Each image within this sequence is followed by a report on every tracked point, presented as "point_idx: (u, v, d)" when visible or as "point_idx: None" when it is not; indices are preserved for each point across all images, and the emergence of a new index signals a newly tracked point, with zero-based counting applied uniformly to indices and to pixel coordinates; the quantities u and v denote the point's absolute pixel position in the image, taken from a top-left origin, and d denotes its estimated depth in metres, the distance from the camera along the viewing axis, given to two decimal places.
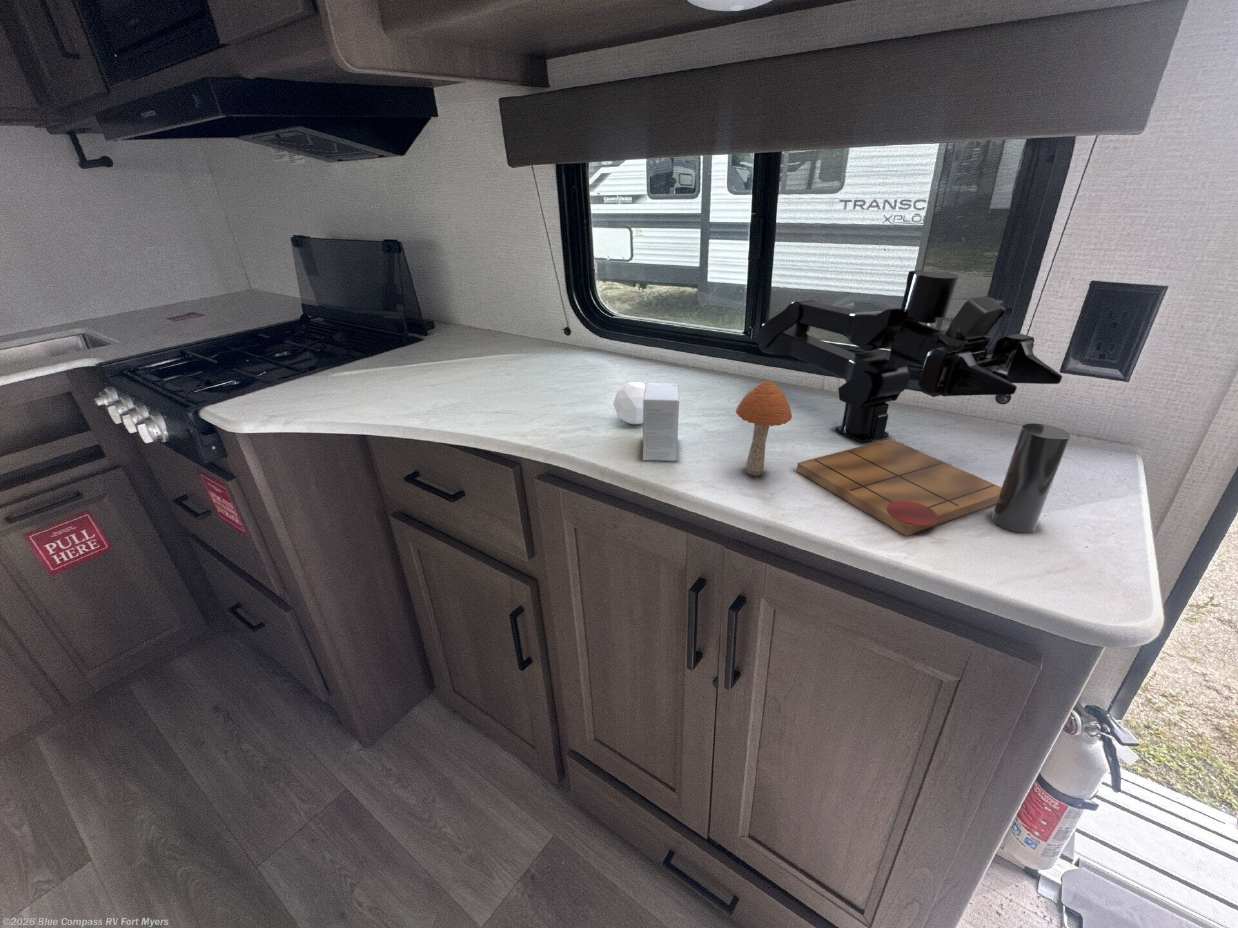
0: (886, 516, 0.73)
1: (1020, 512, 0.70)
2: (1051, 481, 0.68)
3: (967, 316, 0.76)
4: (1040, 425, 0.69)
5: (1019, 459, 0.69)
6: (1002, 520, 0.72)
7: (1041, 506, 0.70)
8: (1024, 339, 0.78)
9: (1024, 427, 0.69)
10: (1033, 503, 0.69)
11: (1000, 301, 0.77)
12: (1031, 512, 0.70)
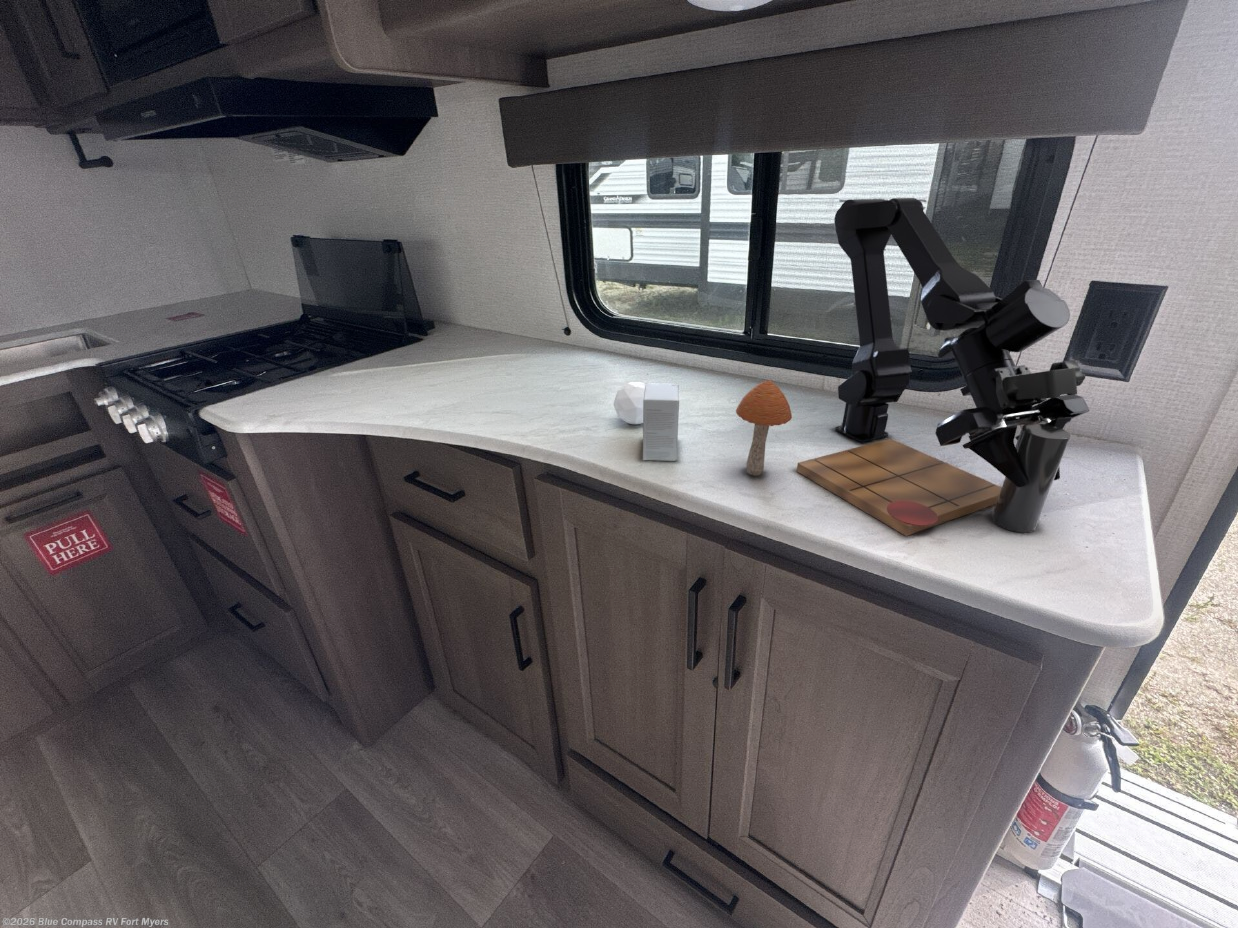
0: (886, 516, 0.73)
1: (1020, 512, 0.70)
2: (1051, 481, 0.68)
3: (1033, 385, 0.66)
4: (1040, 425, 0.69)
5: (1020, 459, 0.69)
6: (1002, 520, 0.72)
7: (1041, 506, 0.70)
8: (1077, 412, 0.70)
9: (1024, 427, 0.69)
10: (1033, 503, 0.69)
11: (1082, 377, 0.66)
12: (1031, 512, 0.70)
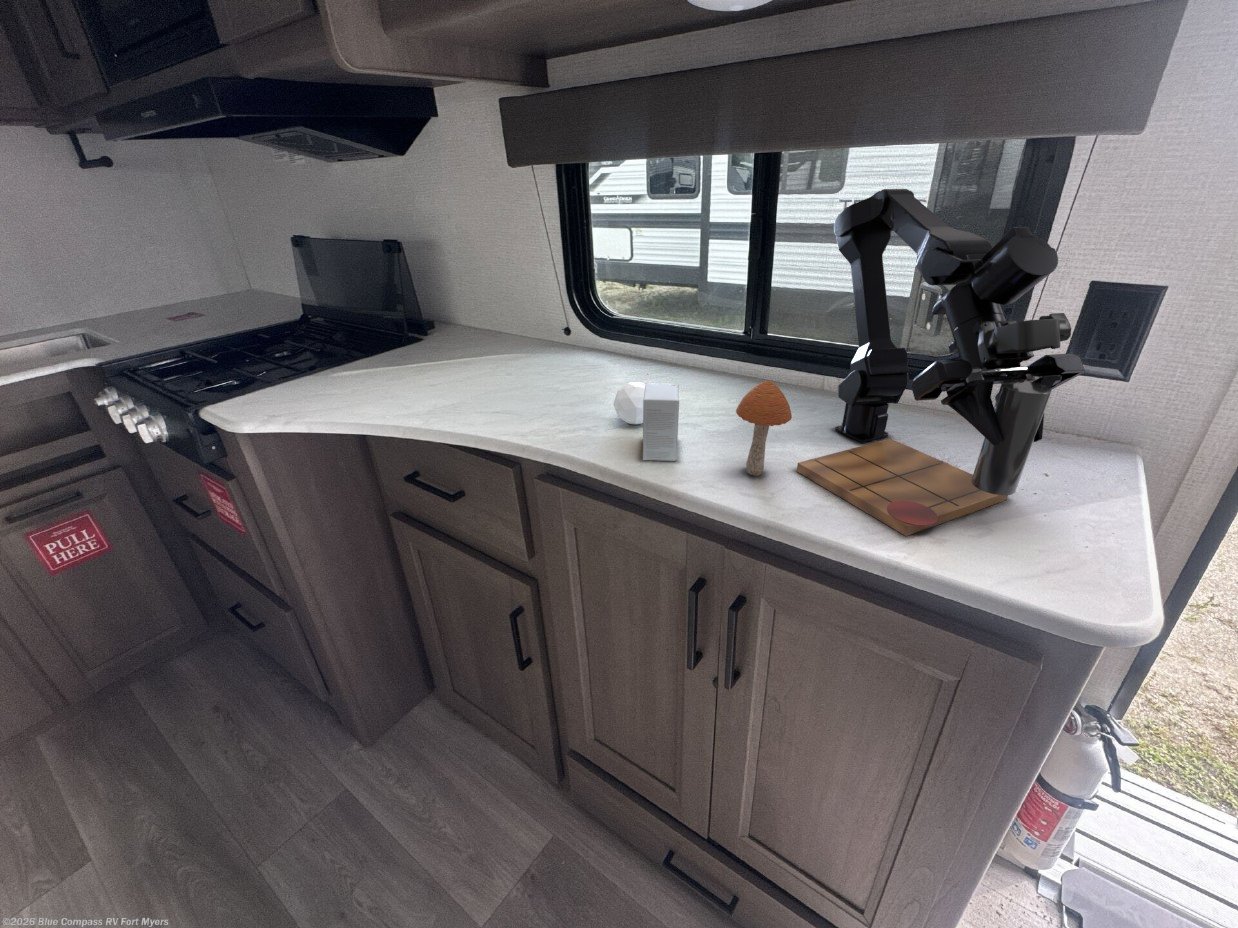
0: (886, 516, 0.73)
1: (995, 472, 0.67)
2: (1030, 440, 0.65)
3: (1011, 337, 0.63)
4: (1023, 382, 0.66)
5: (996, 416, 0.66)
6: (979, 481, 0.69)
7: (1019, 467, 0.67)
8: (1070, 371, 0.66)
9: (1004, 382, 0.66)
10: (1010, 463, 0.66)
11: (1067, 330, 0.62)
12: (1008, 473, 0.67)
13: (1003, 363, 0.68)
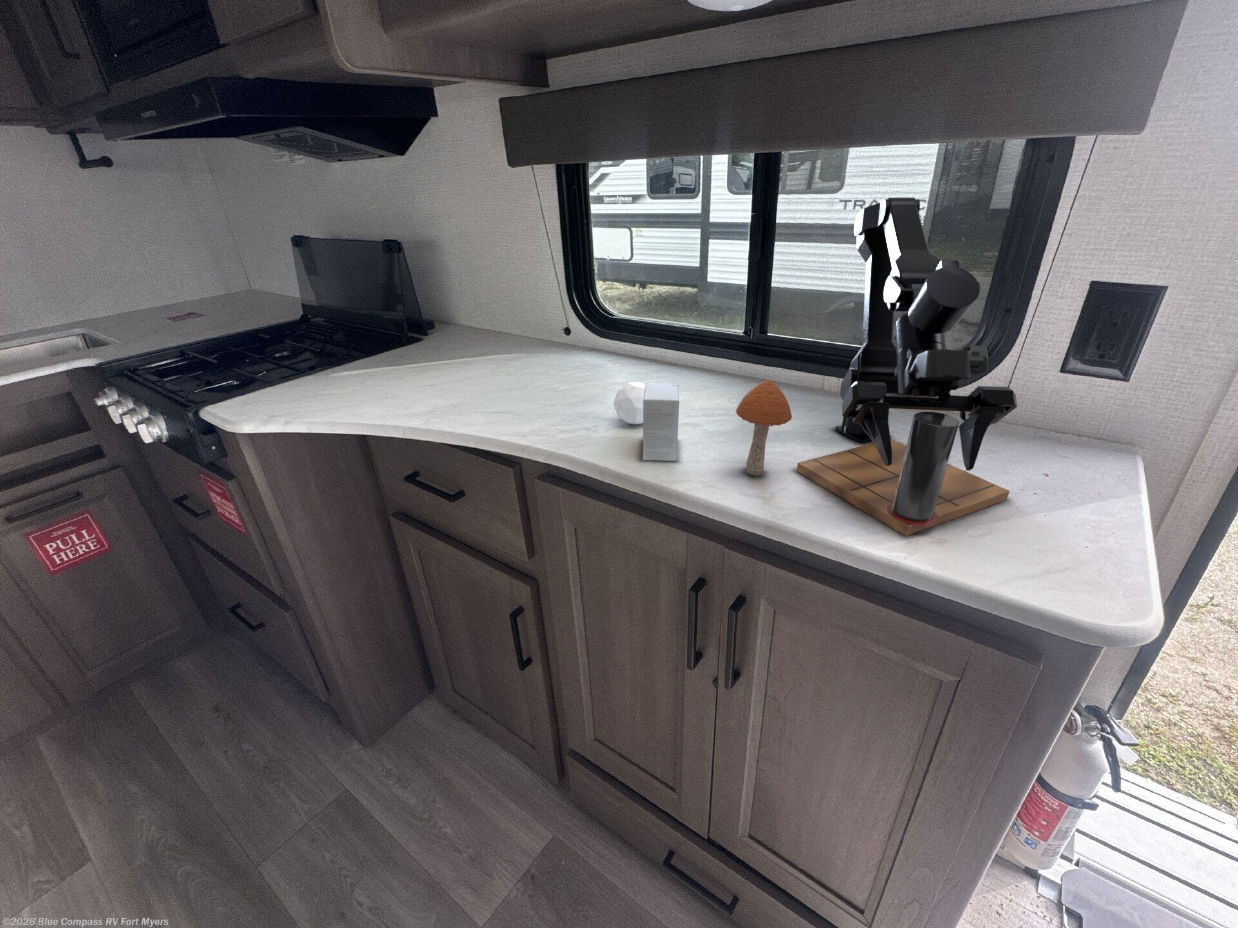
0: (886, 516, 0.73)
1: (905, 498, 0.71)
2: (935, 471, 0.68)
3: (922, 364, 0.66)
4: (940, 414, 0.68)
5: (908, 444, 0.69)
6: (894, 505, 0.73)
7: (927, 496, 0.69)
8: (997, 403, 0.67)
9: (919, 413, 0.69)
10: (917, 490, 0.69)
11: (979, 362, 0.64)
12: (916, 500, 0.70)
13: (934, 390, 0.71)
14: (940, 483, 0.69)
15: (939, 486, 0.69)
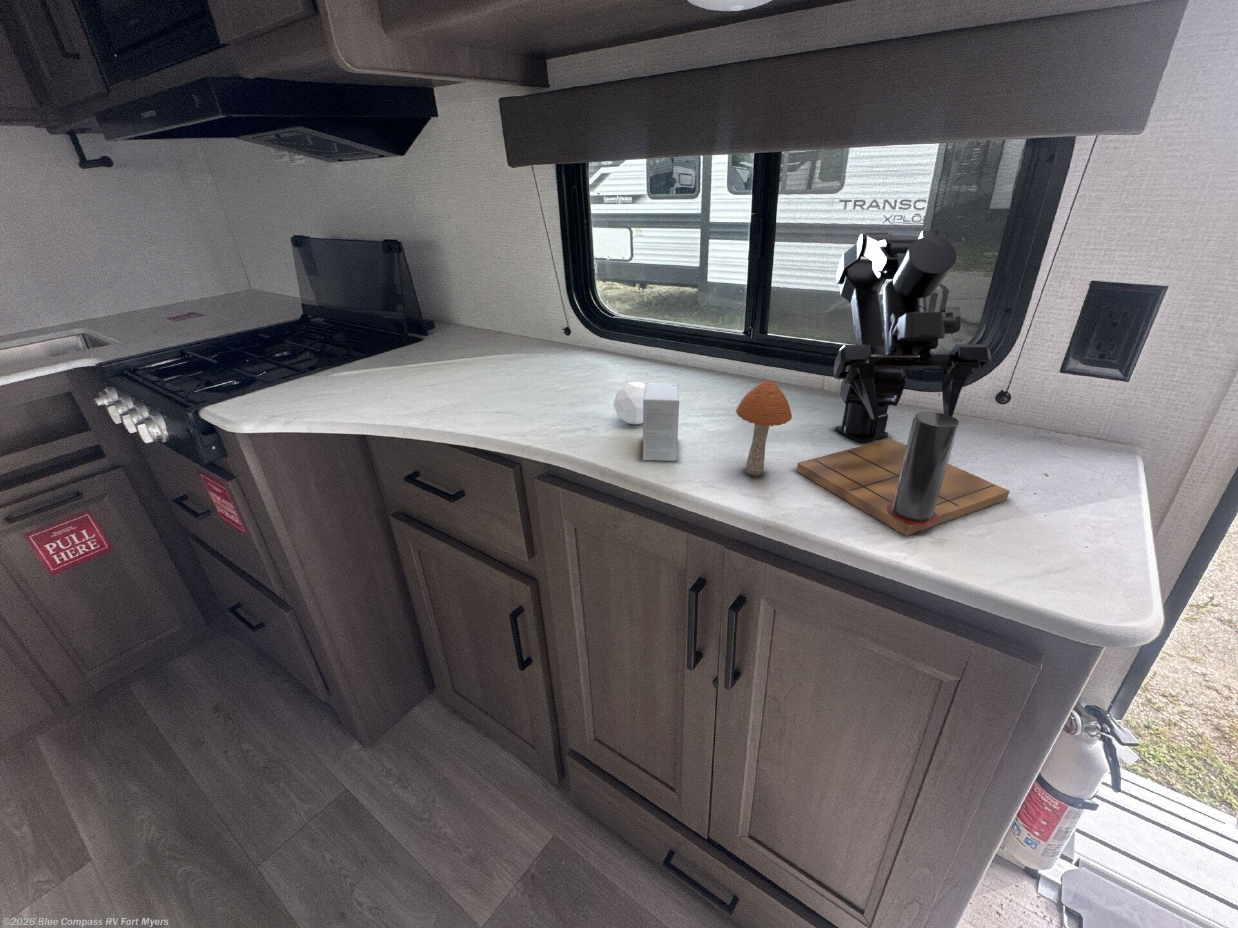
0: (886, 516, 0.73)
1: (905, 498, 0.71)
2: (935, 471, 0.68)
3: (902, 326, 0.73)
4: (940, 414, 0.68)
5: (908, 444, 0.69)
6: (894, 505, 0.73)
7: (927, 496, 0.69)
8: (972, 359, 0.74)
9: (919, 413, 0.69)
10: (917, 490, 0.69)
11: (952, 322, 0.71)
12: (916, 500, 0.70)
13: (916, 350, 0.78)
14: (940, 483, 0.69)
15: (939, 486, 0.69)
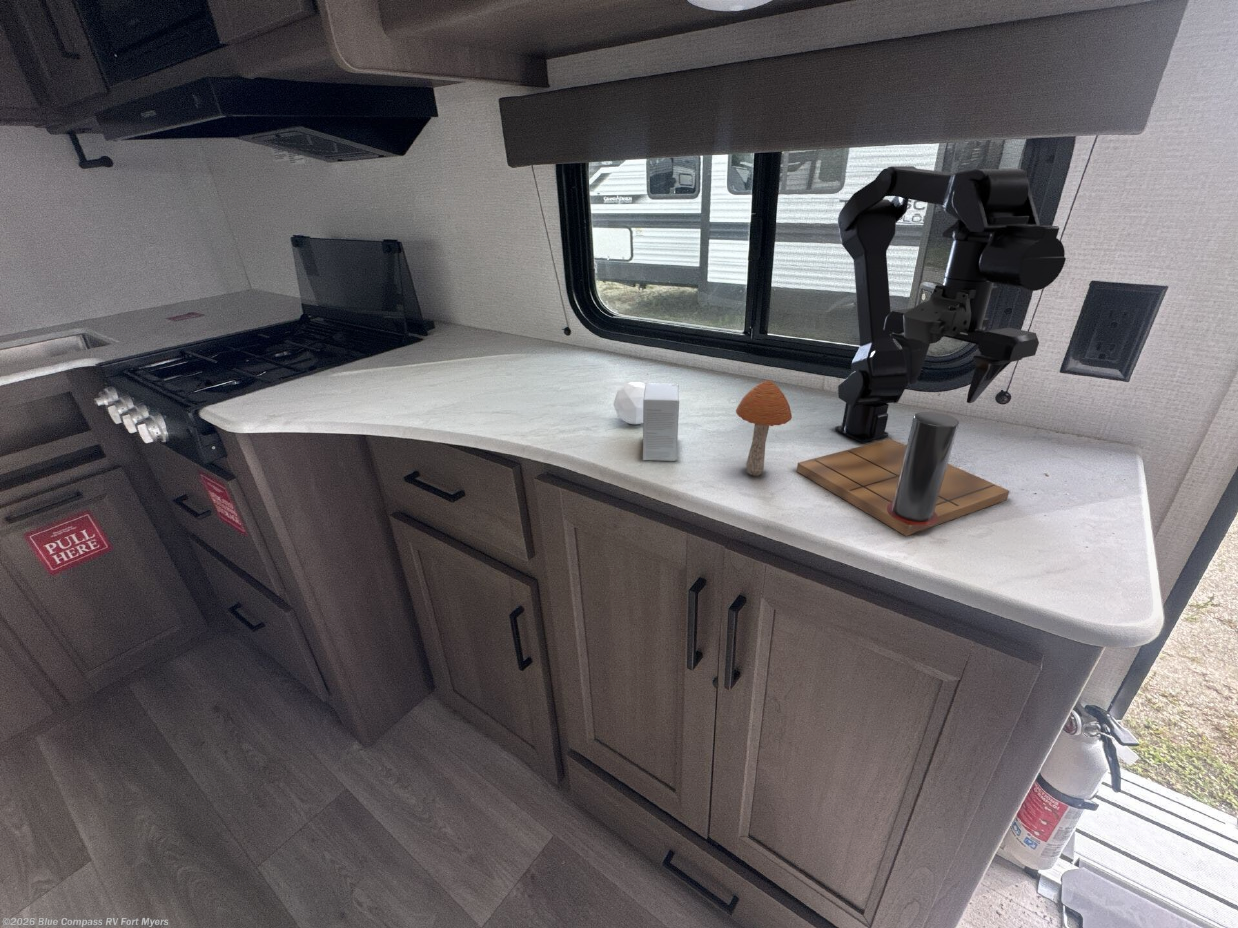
0: (886, 516, 0.73)
1: (905, 498, 0.71)
2: (935, 471, 0.68)
3: None
4: (940, 414, 0.68)
5: (908, 444, 0.69)
6: (894, 505, 0.73)
7: (927, 496, 0.69)
8: (988, 356, 0.70)
9: (919, 413, 0.69)
10: (917, 490, 0.69)
11: (937, 332, 0.70)
12: (916, 500, 0.70)
13: None
14: (940, 483, 0.69)
15: (939, 486, 0.69)
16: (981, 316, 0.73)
